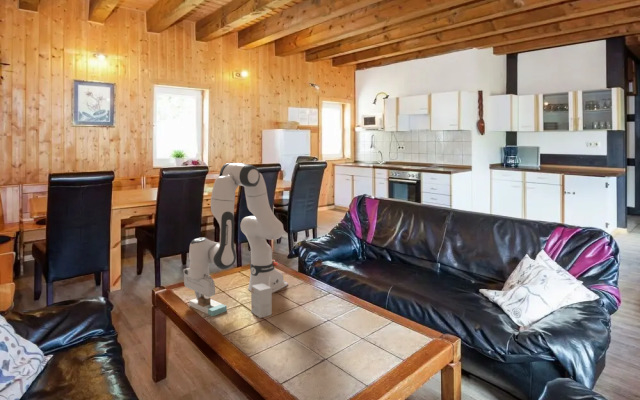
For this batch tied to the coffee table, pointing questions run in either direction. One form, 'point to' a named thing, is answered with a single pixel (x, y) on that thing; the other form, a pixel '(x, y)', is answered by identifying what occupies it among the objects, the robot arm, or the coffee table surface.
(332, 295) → the coffee table surface
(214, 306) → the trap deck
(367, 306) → the coffee table surface
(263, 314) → the small box
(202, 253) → the robot arm
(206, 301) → the block
